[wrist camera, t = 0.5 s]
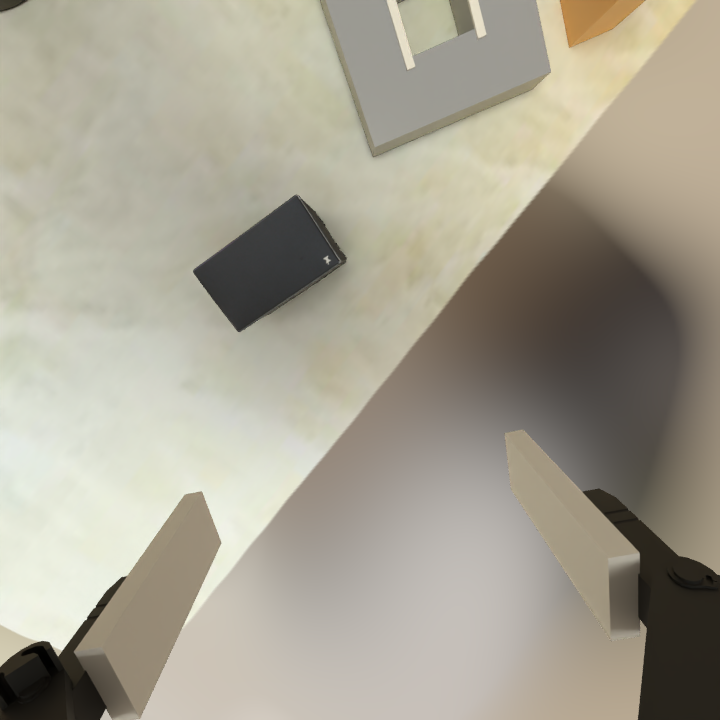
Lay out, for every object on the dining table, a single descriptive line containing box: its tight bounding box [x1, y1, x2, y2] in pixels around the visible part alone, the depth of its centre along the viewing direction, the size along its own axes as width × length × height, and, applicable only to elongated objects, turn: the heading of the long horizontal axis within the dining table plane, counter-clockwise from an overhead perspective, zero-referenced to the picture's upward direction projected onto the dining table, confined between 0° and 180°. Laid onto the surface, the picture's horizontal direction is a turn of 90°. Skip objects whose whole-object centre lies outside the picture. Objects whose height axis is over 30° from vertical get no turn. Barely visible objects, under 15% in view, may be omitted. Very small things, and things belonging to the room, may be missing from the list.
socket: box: [320, 0, 551, 157], centre depth 32 cm, size 16×16×4 cm
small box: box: [193, 195, 347, 332], centre depth 34 cm, size 11×6×10 cm, turn 123°
